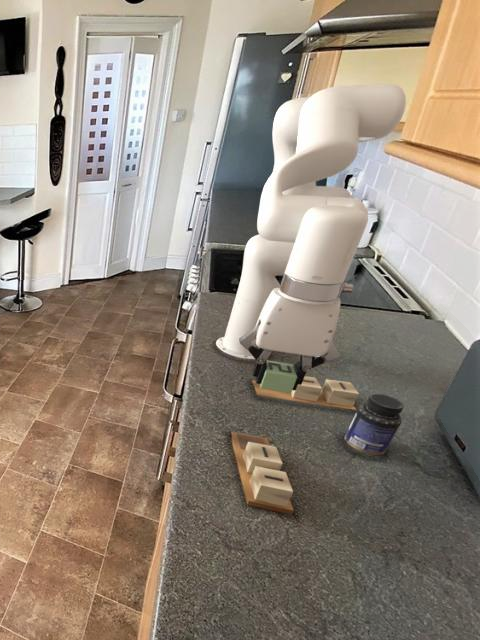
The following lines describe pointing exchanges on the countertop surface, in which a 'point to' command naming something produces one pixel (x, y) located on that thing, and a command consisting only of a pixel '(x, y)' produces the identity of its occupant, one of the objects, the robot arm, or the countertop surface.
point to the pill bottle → (375, 424)
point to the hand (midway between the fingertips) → (274, 382)
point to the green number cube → (279, 377)
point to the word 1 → (262, 473)
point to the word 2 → (317, 393)
